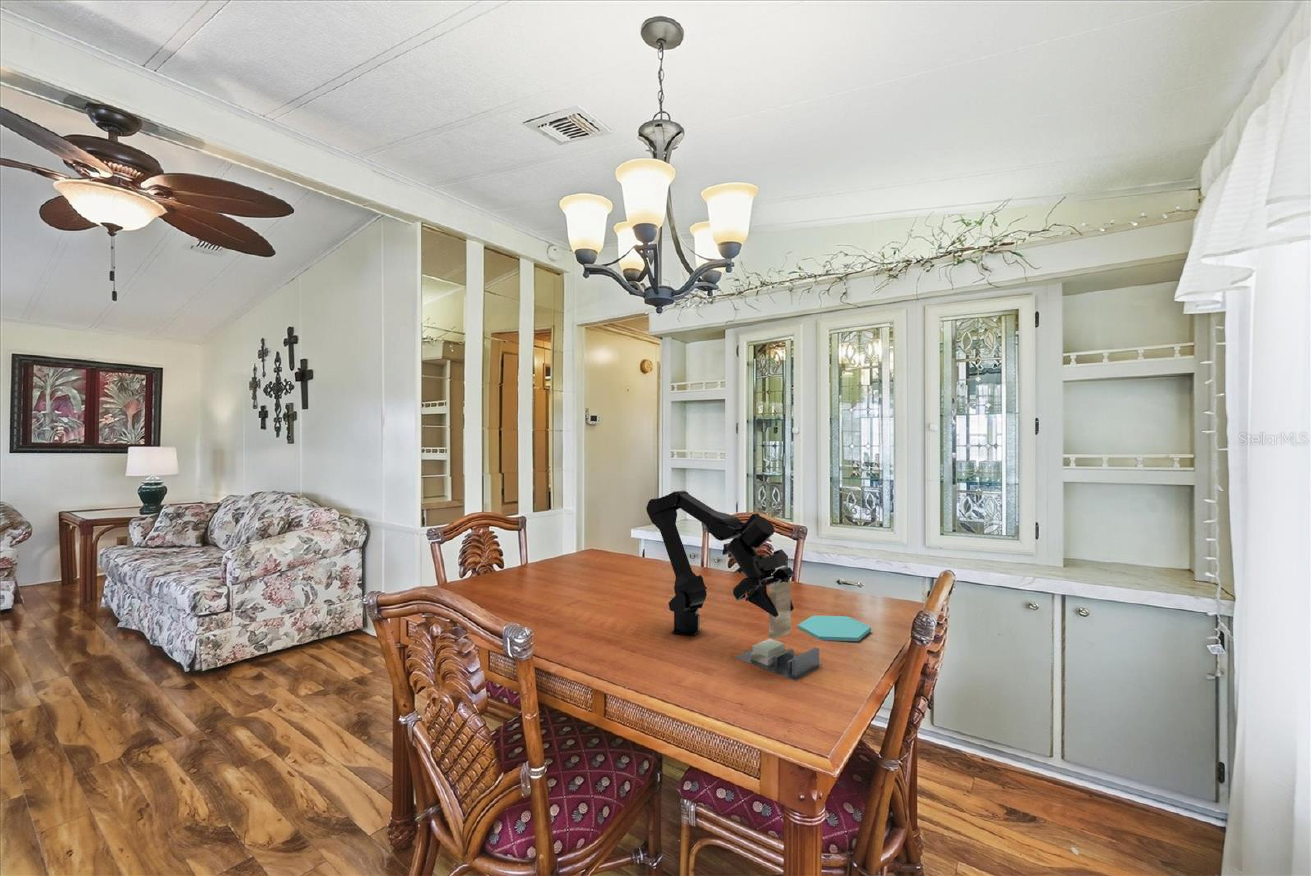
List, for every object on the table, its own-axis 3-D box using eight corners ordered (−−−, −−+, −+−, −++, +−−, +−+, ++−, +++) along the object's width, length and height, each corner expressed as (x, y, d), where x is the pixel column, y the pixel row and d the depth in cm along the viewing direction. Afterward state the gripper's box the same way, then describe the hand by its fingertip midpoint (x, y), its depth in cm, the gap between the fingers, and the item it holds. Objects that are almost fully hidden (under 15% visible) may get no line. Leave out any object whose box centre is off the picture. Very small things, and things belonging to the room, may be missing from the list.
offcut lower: (750, 659, 130) (750, 653, 130) (770, 650, 135) (770, 644, 135) (768, 665, 126) (768, 659, 126) (787, 656, 132) (787, 650, 132)
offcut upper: (752, 651, 131) (752, 645, 131) (769, 644, 135) (769, 638, 135) (768, 657, 127) (768, 651, 127) (784, 649, 132) (784, 643, 132)
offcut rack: (734, 661, 131) (734, 640, 131) (763, 648, 139) (763, 629, 139) (795, 685, 119) (795, 662, 119) (823, 669, 127) (823, 648, 127)
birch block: (768, 637, 127) (769, 586, 127) (783, 630, 131) (783, 581, 131) (776, 639, 126) (776, 588, 126) (790, 633, 130) (790, 583, 130)
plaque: (800, 643, 146) (877, 646, 142) (799, 635, 146) (877, 638, 142) (796, 621, 163) (865, 623, 159) (796, 614, 163) (865, 616, 159)
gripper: (743, 544, 125) (783, 603, 117) (788, 535, 138) (827, 587, 130) (717, 572, 131) (753, 629, 123) (762, 560, 143) (798, 611, 135)
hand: (784, 613), depth 127 cm, fingers closed on birch block, 6 cm apart
